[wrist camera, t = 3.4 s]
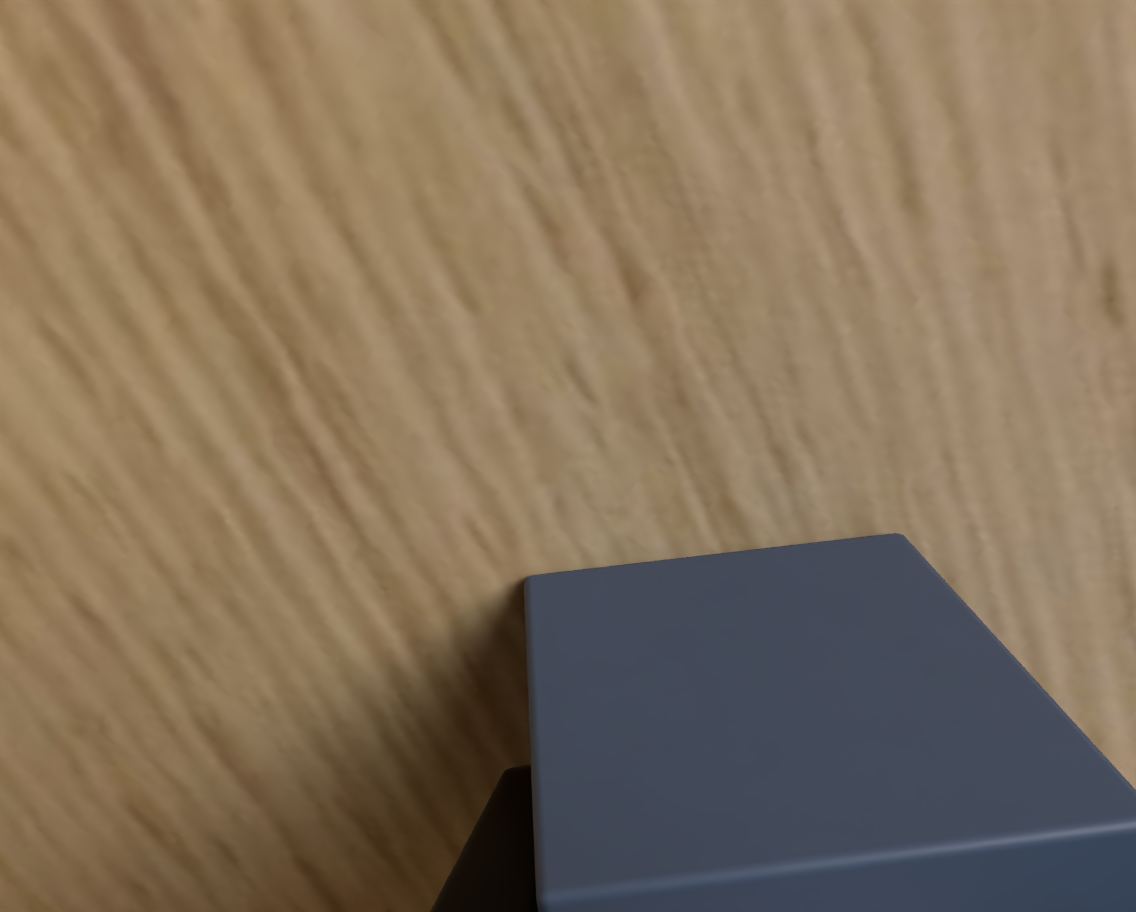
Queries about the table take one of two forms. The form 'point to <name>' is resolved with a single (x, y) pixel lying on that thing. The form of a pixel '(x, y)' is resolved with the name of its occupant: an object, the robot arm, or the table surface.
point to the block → (804, 745)
